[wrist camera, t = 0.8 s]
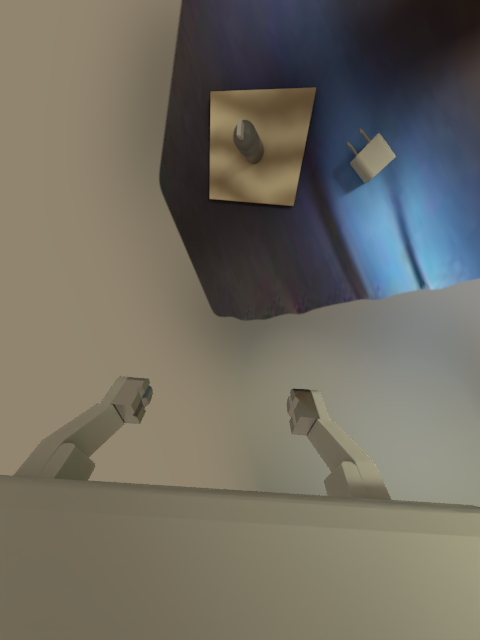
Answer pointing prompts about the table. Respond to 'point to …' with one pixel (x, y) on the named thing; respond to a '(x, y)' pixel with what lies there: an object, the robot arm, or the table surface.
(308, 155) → the table surface
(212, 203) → the table surface
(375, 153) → the usb wall charger
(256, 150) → the dark bottle
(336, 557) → the robot arm
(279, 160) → the birch board
